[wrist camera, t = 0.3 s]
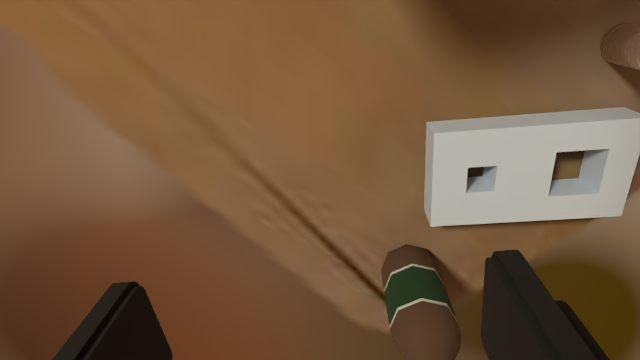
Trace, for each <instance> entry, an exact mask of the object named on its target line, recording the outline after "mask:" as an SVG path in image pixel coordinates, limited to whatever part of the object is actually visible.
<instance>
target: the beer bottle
mask: <svg viewBox="0 0 640 360" xmlns="http://www.w3.org/2000/svg"><path fill="white" fill-rule="evenodd" d="M382 280H383V287H384V293H385V300H386V306H387V313H388V319H389V326H390V331H391V335H392V338H393V342H394V343H395V345H396V347H397V348H398V350H399V352H400V353H401V354H402V356H403V357H404V358H405V360H455V359H456V356H457V354H458V352H459V349H460V344H461V333H460V329H459V325H458V322H457V319H456V316H455V314H454V311H453V308H452V305H451V302H450V300H449V297H448V294H447V291H446V289H445V286H444V283H443V280H442V278H441V275H440V272H439V270H438V268H437V266H436V264H435V262H434V260H433V259H432V257H431V255H430V254H429V252H428V250H427V249H424V248H420V247H415V246H411V245H405V246H402V247H400V248H398V249H396V250H393V251H391V252H389V253H388V255H387V257H386V260H385V262H384V265H383V268H382Z"/></svg>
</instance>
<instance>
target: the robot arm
mask: <svg viewBox="0 0 640 360" xmlns="http://www.w3.org/2000/svg"><path fill="white" fill-rule="evenodd" d="M481 338H482V343H483V346H484V349H485V351H486V354H487V356H488V358H489V360H609V358H608V357H607V356H606V354H605V353H604V352H603V350H602V349H601V348H600V346H599V345H598V344H597V342H596V341H595V340H594V338H593V337H592V336H591V335H590V333H589V332H588V330H587V329H586V328H585V326H584V325H583V323H582V322H581V321H580V319H579V318H578V317H577V315H576V314H575V313H574V311H573V310H572V309H571V308H570V306H569V305H568V304H567V303H566V302H563V301H562V300H561V301H555V300H554V299H553V297H552V296H551V295H550V293H549V292H548V290H547V289H546V288H545V286H544V285H543V283H542V282H541V281H540V279H539V278H538V276H537V275H536V274H535V272H534V271H533V269H532V268H531V266H530V265H529V264H528V262H527V261H526V259H525V258H524V256H523V255H522V254H521V252H520V251H519V250H506V251H495V252H493V254H492V257H491V258H486V261H485V275H484V292H483V308H482V325H481ZM52 360H172V352H171V349H170V347H169V344H168V342H167V340H166V337H165V335H164V333H163V331H162V328H161V326H160V324H159V321H158V319H157V317H156V314H155V312H154V310H153V308H152V305H151V303H150V301H149V298H148V296H147V293H146V291H145V289H144V288H143V287H142V286H139V284H138V283H136V282H121V283H114V284H112V285H111V286H110V287H109V288H108V289H107V291H106V292H105V293H104V294H103V296H102V297H101V298H100V300H99V301H98V302H97V303H96V305H95V306H94V307H93V308H92V310H91V311H90V312H89V313H88V315H87V316H86V317H85V319H84V320H83V321H82V322H81V324H80V325H79V326H78V328H77V329H76V330H75V331H74V333H73V334H72V335H71V336H70V338H69V339H68V340H67V342H66V343H65V344H64V345H63V347H62V348H61V349H60V351H59V352H58V353H57V354H56V356H55V357H54V358H53V359H52Z"/></svg>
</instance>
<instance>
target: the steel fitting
mask: <svg viewBox="0 0 640 360" xmlns="http://www.w3.org/2000/svg"><path fill="white" fill-rule="evenodd" d="M601 55H602V57H603V58H604V59H605V60H606V61H608V62H610V63H614V64H618V65H622V66H626V67H630V68H634V69H638V70H640V24H632V23H624V24H620V25H618V26H616V27H614V28H612V29H611V30H610V31H609V32H608V33H607V34H606V35H605V37H604V39H603V41H602V43H601Z"/></svg>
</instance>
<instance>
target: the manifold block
mask: <svg viewBox="0 0 640 360" xmlns="http://www.w3.org/2000/svg"><path fill="white" fill-rule="evenodd" d="M584 150H585V152H584V157H583V161H582V166H581V170H580V174H579V178H575V179H559V180H551V179H552V174H553V169H554V164H555V158H556V153H557V152H570V151H584ZM639 154H640V113H638V112H636V111H633V110H631V109H628V108H626V107H617V108H604V109H591V110H578V111H565V112H552V113H539V114H525V115H512V116H499V117H486V118H473V119H460V120H447V121H434V122H426V157H425V192H424V211H425V214H426V216H427V219H428V221H429V224H430V226H431V227H433V226H451V225H470V224H488V223H506V222H524V221H542V220H561V219H579V218H597V217H615V216H621V215H622V212H623V209H624V205H625V202H626V199H627V195H628V192H629V188H630V185H631V181H632V178H633V175H634V171H635V168H636V164H637V161H638V157H639ZM472 167H484V168H483V176H477V177H467V175H468V168H472Z"/></svg>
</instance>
